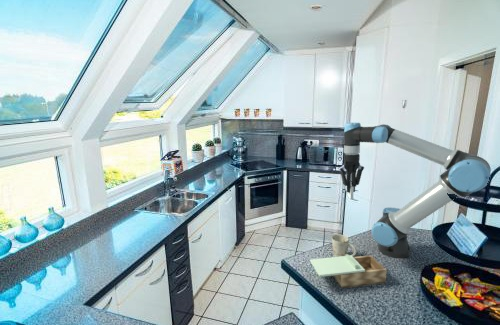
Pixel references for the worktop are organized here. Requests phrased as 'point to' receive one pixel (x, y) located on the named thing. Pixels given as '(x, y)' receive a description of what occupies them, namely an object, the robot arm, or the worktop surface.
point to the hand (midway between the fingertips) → (350, 198)
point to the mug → (341, 245)
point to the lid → (336, 265)
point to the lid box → (363, 274)
